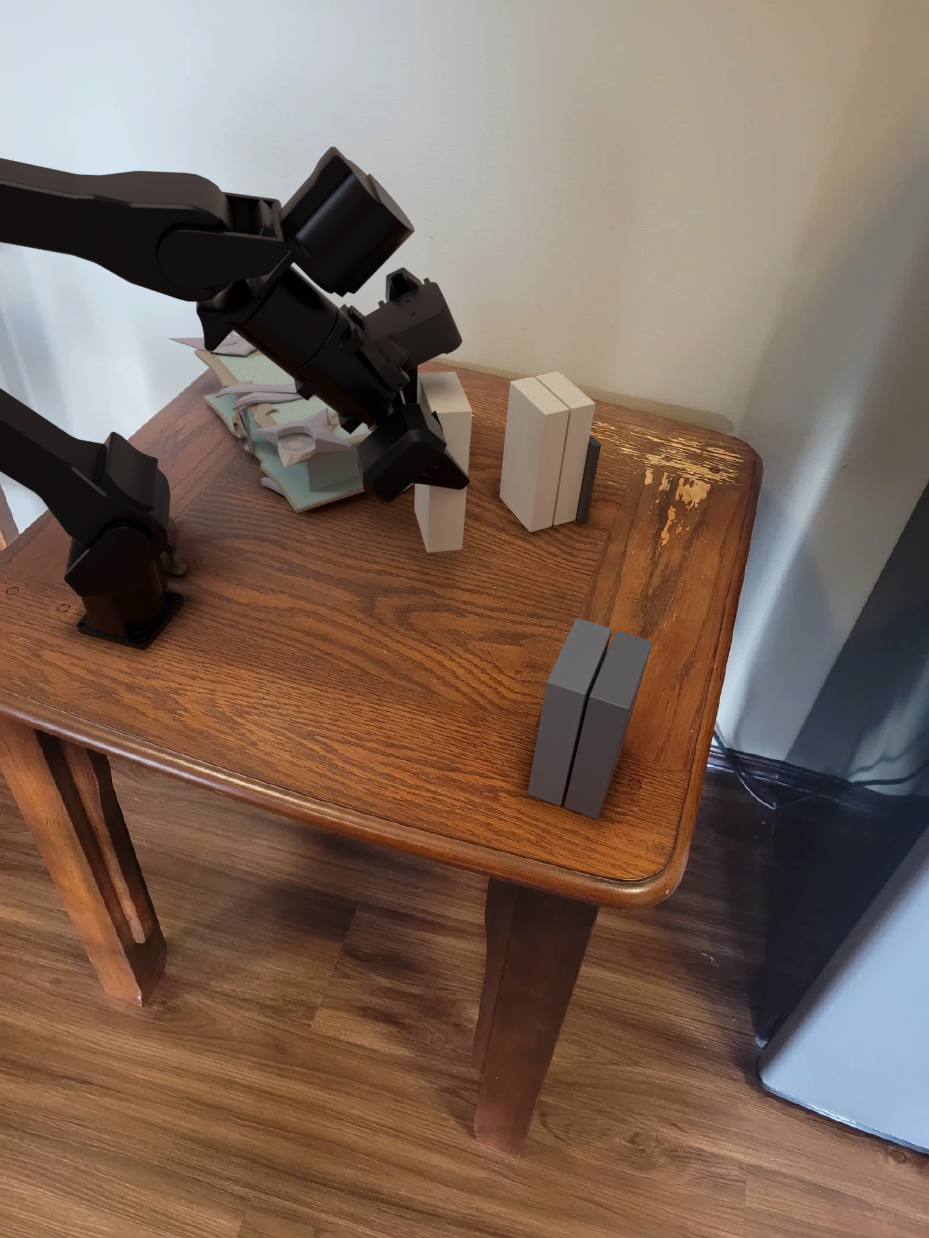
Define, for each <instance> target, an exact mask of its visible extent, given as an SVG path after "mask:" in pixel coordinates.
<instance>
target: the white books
mask: <svg viewBox="0 0 929 1238" xmlns="http://www.w3.org/2000/svg"><path fill="white" fill-rule="evenodd" d="M595 410H596V402H595V401H594V400H592V398H591V397H590V396H588V395H587V394H585V392H583V391H582V390H581V389H580V388H578V387H577V386H576V385H575V384H574V383H573V382H571V381H570V380H569V379H568V378H567V377H566V376H565V375H563V374H562V373H561V372H560V371H554V372H549V373H544V374H539V375H536V376H535V377H534V376H530V377H525V378H520V379H514V380H511V381H510V382H509V392H508V403H507V413H506V423H505V434H504V444H503V454H502V465H501V474H500V475H501V477H500V486H499V499H500V500H501V501H502V503H504V505H505V506H506V507H507V508H508V509H509V510H510V511H511V513H512V514H513V515H514V516H515V517H516V518H517V520H519V521H520V523H521V524H522V525H523V526H524V528H526V529H527V531H528V532H529V533H533V532H537V531H542V530H544V529H547V528H551V527H552V526H554V527H556V526H560V525H562V524H565V523H570V522H573V521H576V522H578V524H579V525H584V524H586V523H588V519H589V514H590V508H591V503H592V497H593V492H594V486H595V481H596V476H597V470H598V466H599V465H598V464H599V459H600V454H601V448H602V444H601V443H600V442H599V441H598V440H597V439H596V438H595V437H594V436H592V434H591V433H592V427H593V421H594V415H595Z"/></svg>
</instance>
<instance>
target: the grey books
mask: <svg viewBox="0 0 929 1238" xmlns="http://www.w3.org/2000/svg"><path fill="white" fill-rule="evenodd" d="M612 632H613V628H612V627H607V626H605V625H601V624H598V623H595V622H593V621H589V620H586V619H582V618H579V617H576V618H575V620H574V621H573V624H572V626H571V629H570V631H569V632H568V635H567V638H566V639H565V641H564V644H563V646H562V648H561V650H560V653H559V654H558V657H557V659H556V661H555V663H554V666H553V667H552V670H551V672H550V674H549V675H548V678H547V680H546V685H545V690H544V696H543V702H542V707H541V713H540V718H539V724H538V730H537V736H536V742H535V747H534V753H533V760H532V765H531V771H530V777H529V781H528V782H529V784H528V788H527V795H529V796H531V797H534V798H536V799H539V800H541V801H545V802H548V803H550V804H553V805H555V806H558V807H561V806H562V803H563V801H565V802H564V807H563V808H565V809H567V810H570V811H572V812H576V813H578V814H580V815H583V816H586V817H589V818H591V819H594V820H598V819H599V818H600V815H601V813H602V810H603V807H604V803H605V801H606V798H607V795H608V791H609V789H610V786H611V783H612V780H613V777H614V774H615V773H616V769H617V767H618V766H617V765H618V762H619V760H620V757H621V754H622V752H623V747H624V743H625V740H626V737H627V733H628V730H629V727H630V722H631V719H632V716H633V712H634V710H635V706H636V702H637V699H638V696H639V692H640V688H641V684H642V681H643V678H644V674H645V671H646V667H647V663H648V661H649V657H650V654H651V650H652V646H653V643H654V642H653V640H650V639H646V638H643V637H640V636H637V635H634V634H630V633H627V632H623V631H620V630H616V631H615V632H614V634H613V637H612V640H611V636H612ZM610 641H611V642H610ZM565 796H566V797H565ZM564 798H565V800H564Z"/></svg>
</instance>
